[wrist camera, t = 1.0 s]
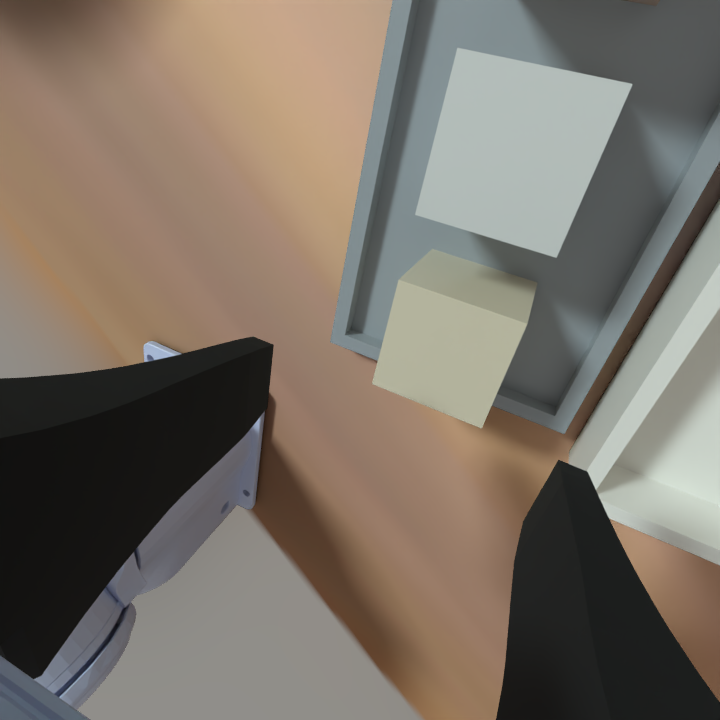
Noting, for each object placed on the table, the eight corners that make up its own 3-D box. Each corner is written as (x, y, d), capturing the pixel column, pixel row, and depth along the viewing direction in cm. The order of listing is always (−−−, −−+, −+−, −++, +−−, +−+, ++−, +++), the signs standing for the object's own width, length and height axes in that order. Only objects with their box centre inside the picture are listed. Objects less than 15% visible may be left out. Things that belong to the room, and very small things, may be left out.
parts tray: (565, 417, 19) (564, 434, 18) (341, 331, 21) (330, 342, 20) (951, -277, 9) (996, -324, 8) (463, -290, 12) (452, -327, 11)
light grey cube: (561, 227, 15) (556, 257, 12) (447, 195, 16) (414, 214, 13) (619, 91, 13) (632, 83, 10) (485, 63, 14) (457, 47, 11)
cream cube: (498, 373, 19) (481, 428, 15) (406, 338, 20) (372, 383, 16) (537, 282, 16) (527, 324, 13) (432, 248, 17) (398, 279, 14)
